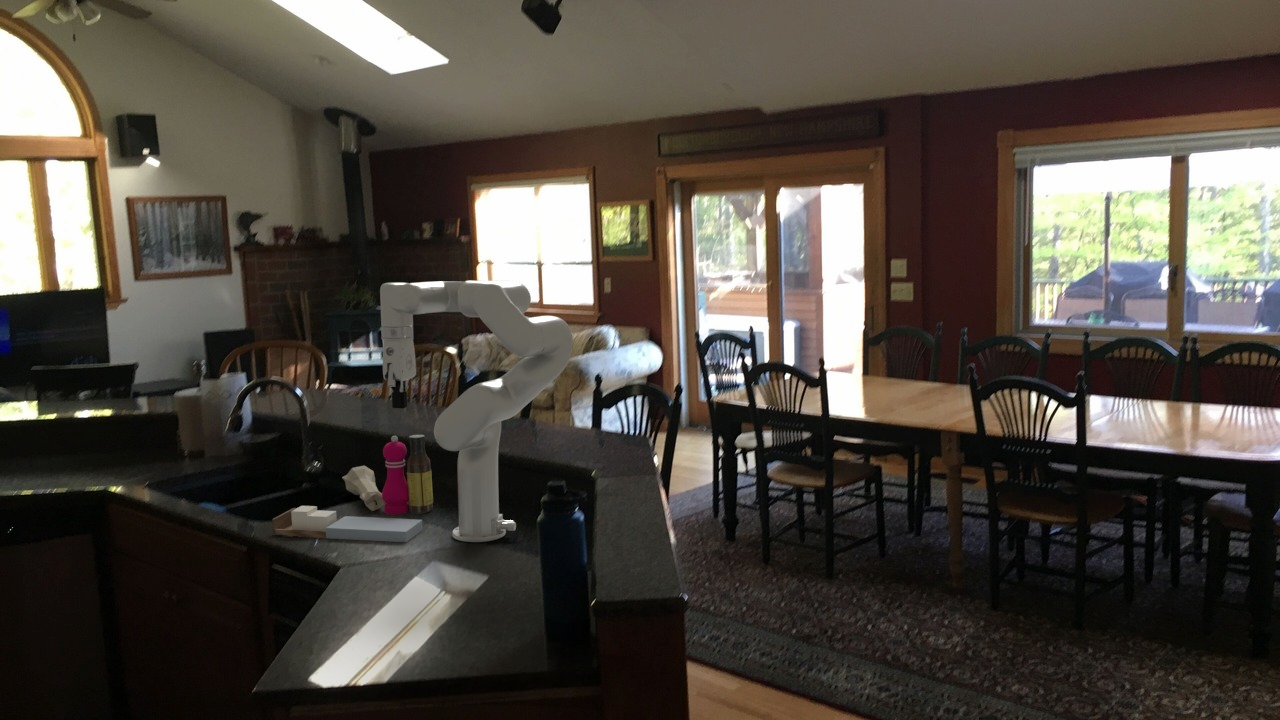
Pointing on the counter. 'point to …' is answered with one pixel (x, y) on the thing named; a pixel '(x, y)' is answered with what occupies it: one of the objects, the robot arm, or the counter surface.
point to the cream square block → (301, 517)
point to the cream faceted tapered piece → (364, 486)
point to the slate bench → (374, 529)
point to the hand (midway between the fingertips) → (399, 407)
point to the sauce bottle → (419, 476)
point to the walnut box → (284, 526)
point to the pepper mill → (395, 478)
